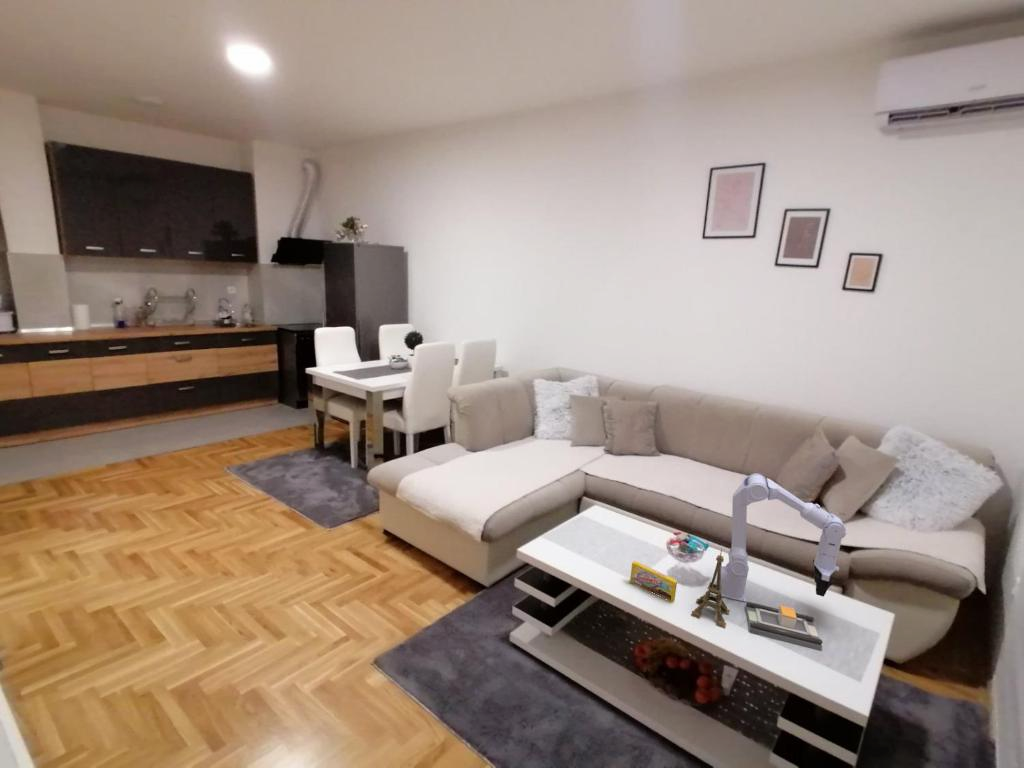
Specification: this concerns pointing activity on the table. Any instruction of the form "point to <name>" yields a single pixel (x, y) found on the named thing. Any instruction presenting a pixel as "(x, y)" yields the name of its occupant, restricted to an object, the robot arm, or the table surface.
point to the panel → (767, 625)
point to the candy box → (653, 581)
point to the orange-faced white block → (787, 617)
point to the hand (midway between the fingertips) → (818, 588)
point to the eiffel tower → (713, 597)
